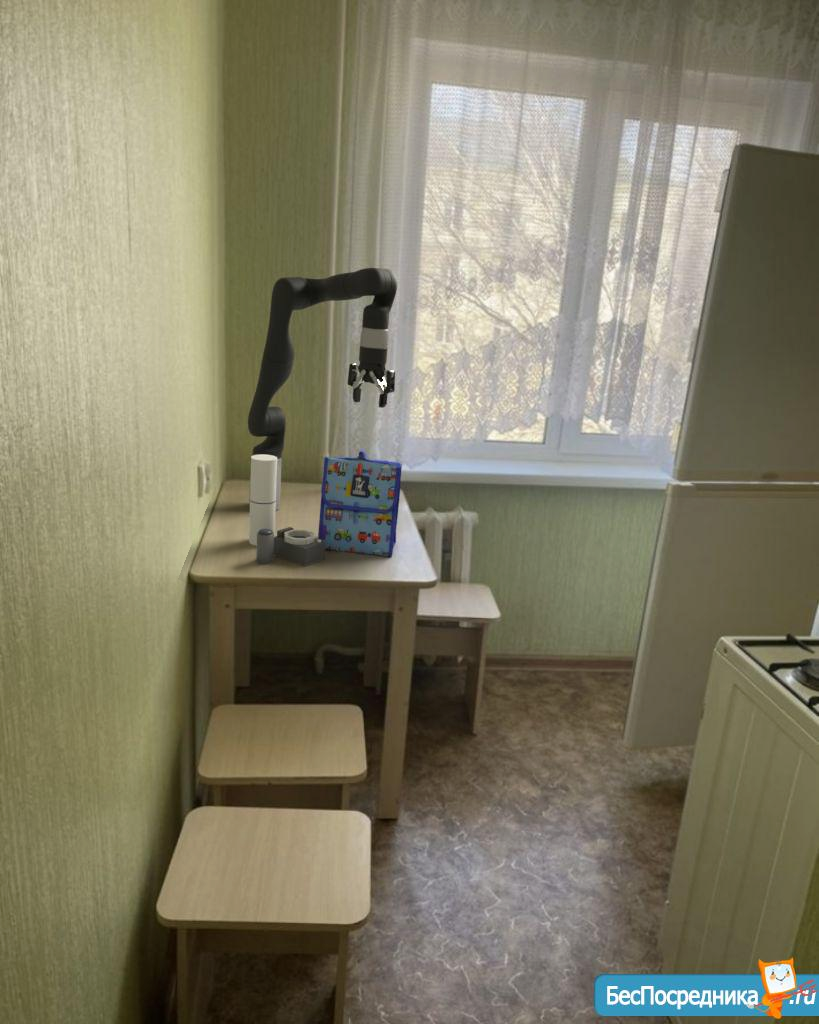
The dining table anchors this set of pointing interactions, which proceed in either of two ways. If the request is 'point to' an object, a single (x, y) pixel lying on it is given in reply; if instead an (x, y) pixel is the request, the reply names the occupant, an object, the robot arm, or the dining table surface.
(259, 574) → the dining table surface
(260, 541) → the lens
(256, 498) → the cylindrical container
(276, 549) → the camera body
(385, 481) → the lunch bag
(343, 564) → the dining table surface
